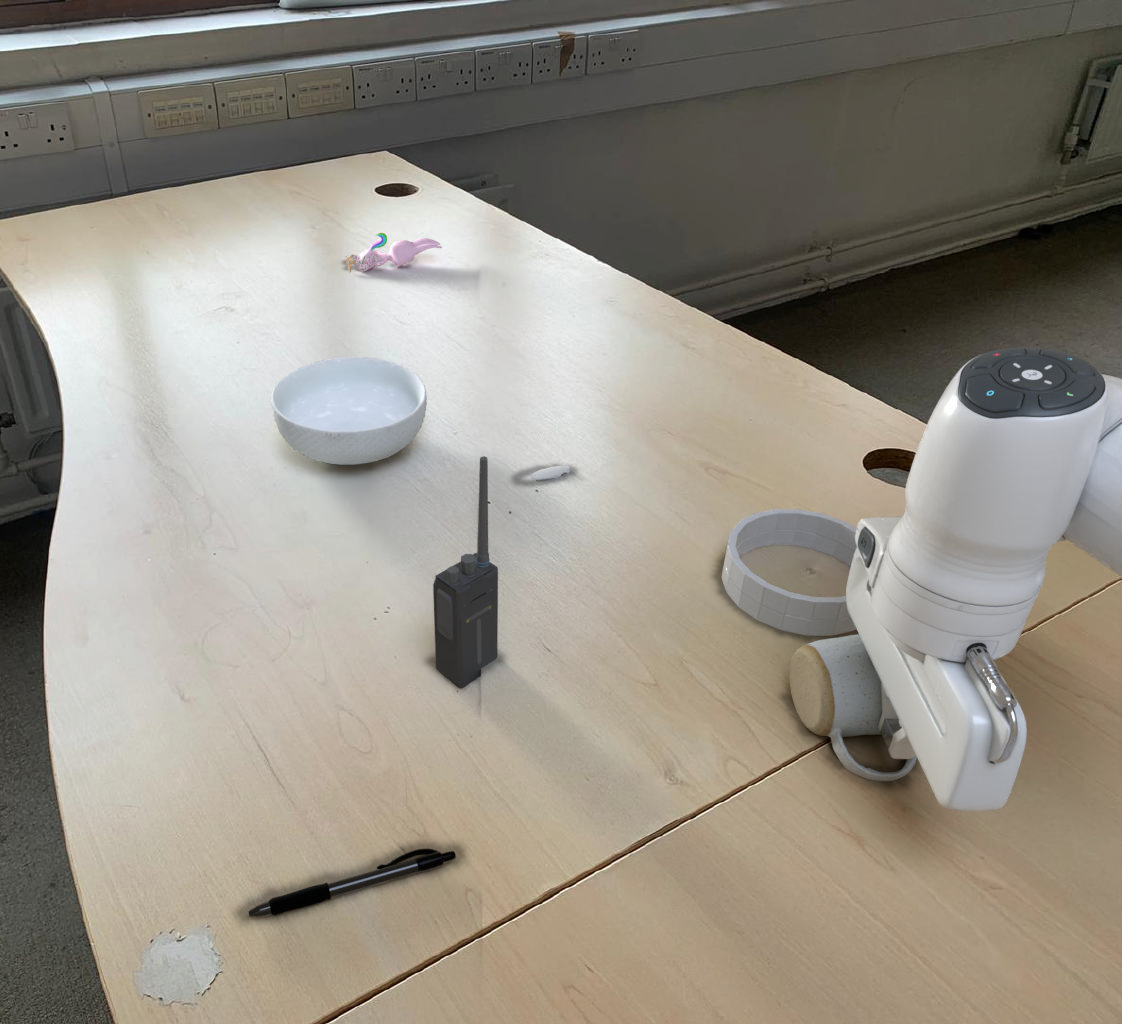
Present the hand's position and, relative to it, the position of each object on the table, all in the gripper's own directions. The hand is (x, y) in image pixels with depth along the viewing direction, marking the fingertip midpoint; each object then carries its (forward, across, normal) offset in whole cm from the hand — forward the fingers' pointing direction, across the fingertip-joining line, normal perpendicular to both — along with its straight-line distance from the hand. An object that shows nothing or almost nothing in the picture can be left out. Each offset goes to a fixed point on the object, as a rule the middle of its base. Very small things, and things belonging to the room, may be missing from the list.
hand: (895, 744), depth 71 cm
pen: (+3, -10, +38) cm, 40 cm away
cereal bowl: (+3, +46, +44) cm, 64 cm away
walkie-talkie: (+3, +11, +31) cm, 33 cm away
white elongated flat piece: (+3, +39, +23) cm, 45 cm away
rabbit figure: (+3, +100, +42) cm, 108 cm away
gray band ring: (+3, +21, +1) cm, 21 cm away
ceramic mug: (+3, +4, +1) cm, 5 cm away
